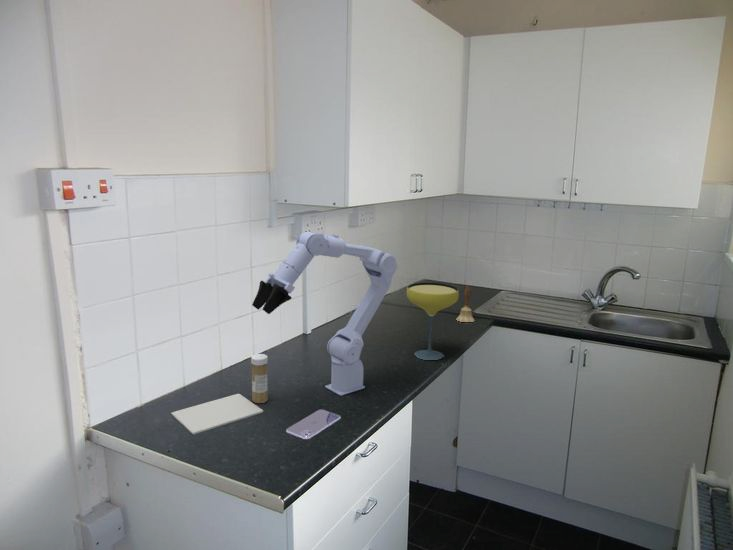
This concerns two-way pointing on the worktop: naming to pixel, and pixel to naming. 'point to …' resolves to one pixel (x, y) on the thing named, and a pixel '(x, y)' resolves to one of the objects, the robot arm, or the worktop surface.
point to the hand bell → (466, 308)
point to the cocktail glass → (431, 307)
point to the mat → (216, 413)
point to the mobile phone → (313, 424)
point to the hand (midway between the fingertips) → (260, 309)
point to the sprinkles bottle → (259, 378)
